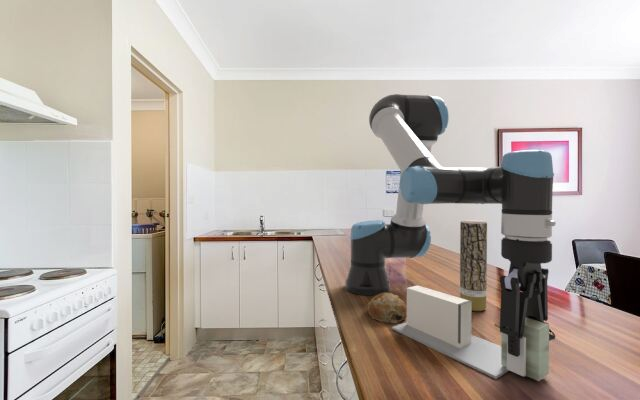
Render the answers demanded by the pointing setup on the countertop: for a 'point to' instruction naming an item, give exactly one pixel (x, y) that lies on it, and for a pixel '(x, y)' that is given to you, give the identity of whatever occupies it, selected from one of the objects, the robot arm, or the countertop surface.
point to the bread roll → (387, 308)
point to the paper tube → (473, 262)
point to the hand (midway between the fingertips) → (524, 366)
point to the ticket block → (449, 330)
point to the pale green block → (532, 349)
